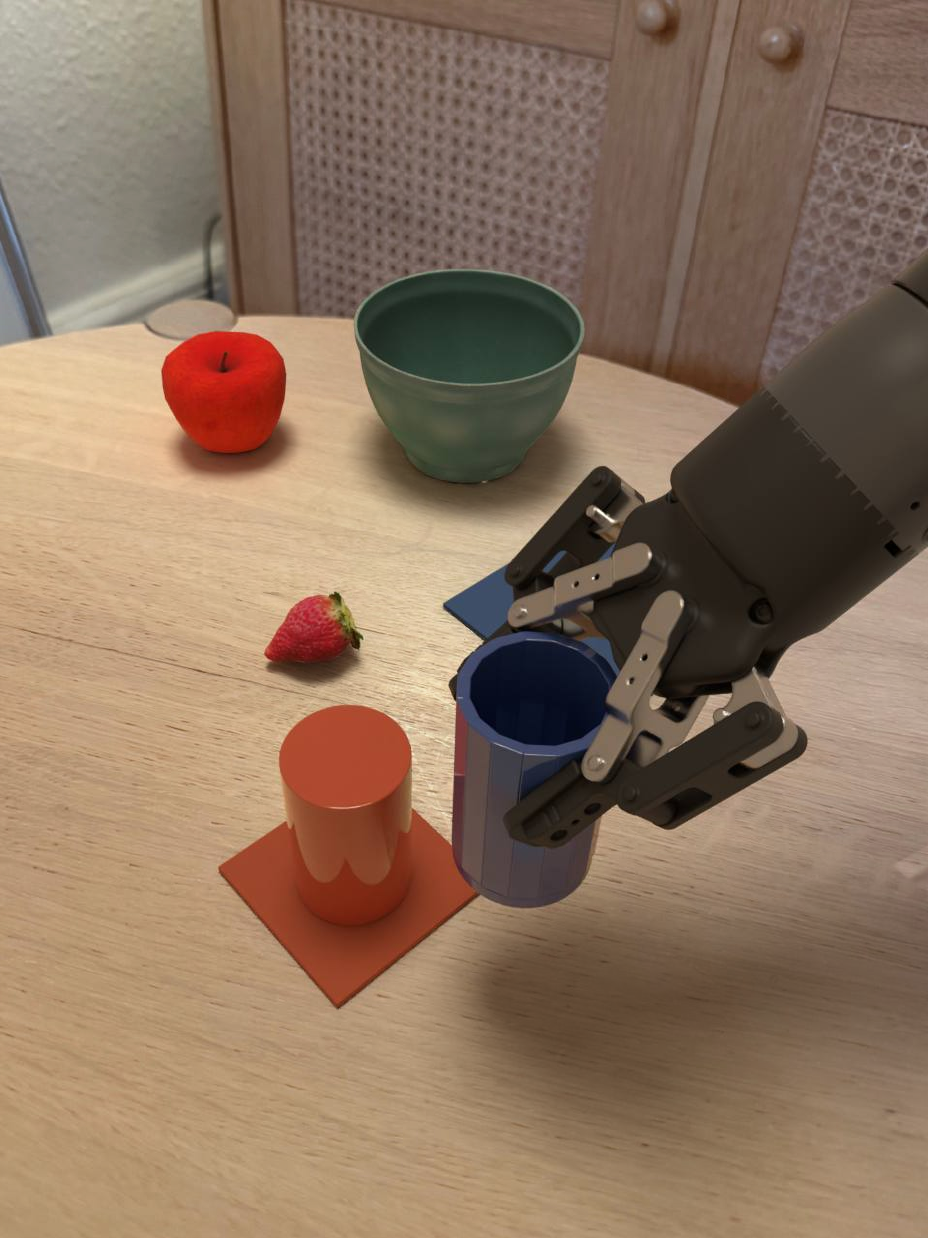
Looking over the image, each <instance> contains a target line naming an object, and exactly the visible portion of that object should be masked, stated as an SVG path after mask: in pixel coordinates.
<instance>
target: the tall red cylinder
mask: <svg viewBox="0 0 928 1238" xmlns="http://www.w3.org/2000/svg"><path fill="white" fill-rule="evenodd" d="M412 764H413V752H412V745H411V742H410V739H409V737H408V735H407V734H406V732H405V731H404V729H403V728H402V726H401V725H400V724H399V723H398V722H397V721H396V720H395V719H394V718H392V717H390V716H389V715H387V714H386V713H385V712H382V711H380V710H377V709H375V708H372V707H368V706H364V705H357V704H341V705H333V706H328V707H324V708H322V709H318V710H316V711H313V712H312V713H310V714H308V715H307V716H305V717H303V718H301V719H300V720H299V721H298V722H297V723H296V724H294V726H293V727H292V728H291V729H290V730H289V731H288V733H287V734H286V736H285V737H284V739H283V741H282V743H281V746H280V749H279V753H278V767H279V768H278V769H279V776H280V783H281V789H282V797H283V804H284V811H285V819H286V820H287V826H288V833H289V840H290V848H291V855H292V862H293V869H294V876H295V883H296V888H297V891H298V894H299V896H300V898H301V900H302V902H303V903H304V904H305V906H306V907H307V908H308V909H309V910H310V911H311V912H312V913H314V914H315V915H316V916H318V917H319V918H321V919H323V920H325V921H328V922H331V923H334V924H338V925H345V926H356V925H363V924H367V923H371V922H374V921H376V920H379V919H381V918H383V917H384V916H386V915H387V914H389V913H390V912H392V911H393V910H394V909H395V908H396V907H397V906H398V905H399V904H400V903H401V901H402V900H403V898H404V897H405V895H406V893H407V891H408V889H409V886H410V883H411V876H412V808H413V805H412V803H413V801H412V797H413V795H412V794H413V792H412V791H413V790H412V789H413V788H412V787H413V786H412V785H413V783H412V782H413V780H412V779H413V777H412V776H413V773H412V771H413V768H412V767H413V765H412Z"/></svg>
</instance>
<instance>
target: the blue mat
mask: <svg viewBox="0 0 928 1238" xmlns="http://www.w3.org/2000/svg"><path fill="white" fill-rule="evenodd" d="M615 543H616V542H615ZM615 543H614V544H613V545H612V546H611V547H610V548H609V549H608V551H607V552H606V553H605V554H604V555H603V556H602V557H601V558H600V559H599V560H598V561H597V562H599V561H601V560H604V559H607V558H609V557H610V555H611V553H612V550H613V548H614V546H615ZM566 552H567V551H561V552H559V553H558V554H557V555H556V556H555V557H554V558H553V559H552V560H551V561H550V562H549V564H548V565H547V566H546V567H545V568H544V569H543V571H545V572H546V573H548V572H549V571H550V570H551V569H552V567H553V566H554V565H555V564H556V563H557V562H558V561H559V560H560V559H561V558H562V556H563V555H564V554H565V553H566ZM509 563H510V562H509ZM509 563H507V564H505V565H504V566H502V567H500V568H498V569H497V570H495V571H494V572H491V573H490V574H489V575H487V576H485V577H484V578H482V579H480V580H479V581H477V582H476V583H474V584H472V585H470V586H469V587H467V588H465V589H464V590H462V591H461V592H459V593H458V594H456V595H454V596H452V597H451V598H449V599H447V600H446V601H444V602H443V603H442V608H443V609H445V610H446V612H449V614H451V615H452V616H454V617H455V618H456V619H457V620H458V621H460V622H461V623H462V624H463V625H464V626H466V627H467V628H468V629H469V630H471V631H472V632H474V633H475V635H477V636H478V637H480V638H481V639H482V640H484V641H485V640H486V639H487V638H488V637H489V636H491V635H492V634H493V633H494V632H495V631H496V630H497V629H498V628H499V627H501V626H502V625H503V624H504V623H505V622H506V621H507V620H508V611H509V609H510V607H511V605H512V604H513V603H514V597H513V587H512V586H510V585H509V584H507V583H506V581H505V578H504V574H505V570H506V567H507V566H508V564H509ZM581 642H583V643H585V644H586V645H588V646H589V647H591V648H592V649H593V650H595V651H596V652H597V653H599V654H600V655H601V656H603V657H604V658H606V659H607V661H608V662H609V663H610V665H611V667H612V668H613V670H614V671H615V673H616V674H617V676H618V675H619V673H620V671H619V669H618V667H617V665H616V664H615V662H614V659H613V655H612V650H611V646H610V642H609V641H608V640H607V639H600V638H594V637H592V638H587V639H584V640H581Z"/></svg>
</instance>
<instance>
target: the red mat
mask: <svg viewBox="0 0 928 1238" xmlns="http://www.w3.org/2000/svg"><path fill="white" fill-rule="evenodd" d="M217 868H218V872H219V873H220V874H221V875H222V877H223V878H224V879H225V880H226V881H227V882H228V884H229V885H230V886H231V887H232V888H233V889H234V890H235V892H236V893H237V894H238V895H239V896H240V897H241V899H243V901H244V902H245V903H246V904H247V906H248V907H249V908H250V909H251V910H252V911H253V912H254V914H255V915H256V916H257V917H258V918H259V919H260V921H261V922H262V923H263V924H264V925H265V926H266V928H268V930H269V931H270V932H271V934H273V935H274V937H275V938H276V939H277V940H278V941H279V942H280V944H281V945H282V946H283V947H284V948H285V949H286V951H287V952H288V953H289V954H290V955H291V956H292V958H293V959H294V960H295V961H296V962H297V964H298V965H299V966H300V967H301V968H302V969H303V970H304V971H305V972H306V974H307V975H308V976H309V977H310V978H311V979H312V981H313V982H314V983H315V984H316V985H317V987H318V988H319V989H320V990H321V991H322V992H323V994H325V996H326V997H327V998H328V999H329V1000H330V1002H332V1004H333V1005H334V1006H335V1007H336V1008H338V1009H339V1008H340V1007H341V1006H342V1005H343V1004H344V1003H346V1002H347V1001H348V1000H349V999H350V998H352V997H353V996H354V995H355V994H357V993H358V992H359V991H360V990H362V989H363V988H364V987H366V986H367V985H368V984H369V983H371V982H372V981H373V980H374V979H375V978H376V977H378V976H379V975H381V973H383V972H384V971H385V970H386V969H388V968H389V967H391V965H392V964H394V963H395V962H396V961H398V960H399V959H400V958H401V957H402V956H404V955H405V954H406V953H408V952H409V951H410V950H411V949H413V947H415V946H416V945H417V944H418V943H420V942H421V941H422V940H423V939H425V938H426V937H427V936H428V935H430V934H431V933H432V932H434V931H435V930H436V929H437V928H439V926H441V925H442V924H443V923H445V922H446V921H447V920H448V919H450V918H451V917H452V916H453V915H455V914H456V913H457V912H458V911H460V910H461V909H462V908H463V907H464V906H465V905H467V904H468V903H470V902H471V901H472V900H473V899H475V897H477V896H479V895H480V894H479V893H477V892H476V891H475V890H474V889H473V888H472V887H470V885H469V884H468V883H467V882H466V881H465V880H464V878H463V877H462V876H461V874H460V873H459V871H458V869H457V867H456V864H455V861H454V858H453V853H452V843H450V842H449V841H448V840H447V839H446V838H445V837H444V836H443V835H442V834H440V833H439V831H438V830H436V829H435V828H434V827H433V826H432V825H431V823H429V822H428V821H427V820H426V819H424V817H422V815H420V813H418V811H416V809H414V808H413V807H412V876H411V883H410V886H409V889H408V891H407V893H406V895H405V897H404V898H403V900H402V901H401V903H400V904H399V905H398V906H397V907H396V908H395V909H394V910H393V911H392V912H390V913H389V914H387V915H386V916H384V917H383V918H381V919H379V920H376V921H374V922H371V923H367V924H363V925H356V926H345V925H338V924H334V923H331V922H328V921H325V920H323V919H321V918H319V917H318V916H316V915H315V914H314V913H312V912H311V911H310V910H309V909H308V908H307V907H306V906H305V904H304V903H303V902H302V900H301V898H300V896H299V894H298V891H297V888H296V883H295V876H294V869H293V862H292V855H291V848H290V840H289V833H288V826H287V819H286V820H285V821H283V822H282V823H281V824H279V825H278V826H276V827H274V828H273V829H272V830H270V831H269V832H267V833H266V834H265V835H263V836H261V837H260V838H259V839H257V840H256V841H254V842H253V843H250V844H249V845H248V846H247V847H245V848H244V849H242V850H241V851H239V852H238V853H236V854H235V855H233V856H231V858H229V859H228V860H226V861H225V862H223V863H222V864H220V865H219V866H218V867H217Z"/></svg>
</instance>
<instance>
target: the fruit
mask: <svg viewBox="0 0 928 1238" xmlns="http://www.w3.org/2000/svg"><path fill="white" fill-rule="evenodd" d="M361 641H364V635H362V634H361V632H360V631H359V630H358V629H357V626H356V624H355V619H354V617H353V614H352V612H351V609H350V608H349V607H348V606H347V604H346V603H345V599H344V598H343V596H341V593H340V592H337V591H333V593H331V594H328V595H325V594H315V595H311V596H306V597H305V598H302V600H300V601H299V602H297V603H296V604H295V605H294V606H292V607H291V608H290V609H289V611H288V613H287V614H286V615H285V619H284V621H283V622H282V624H280V625H279V626H278V628H277V630H276V632H275V634H274V635H273V637H272V638H271V641H270V642H269V644H268V645H267V646H266V648H265V649H264V653H263V655H264V657H265V658H266V659H267V660H269V661H271V662H273V663H281V662H283V663H284V662H287V663H290V662H297V663H305V664H306V663H307V664H312V663H320V662H329V661H333V660H334V659H335V658H337V657H339V656H340V655H342V654H343V653H344V652H345V651H346V650H347V649H348V648H349V646H351V648H353V649H354V650H358V651H360V648H361Z"/></svg>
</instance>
